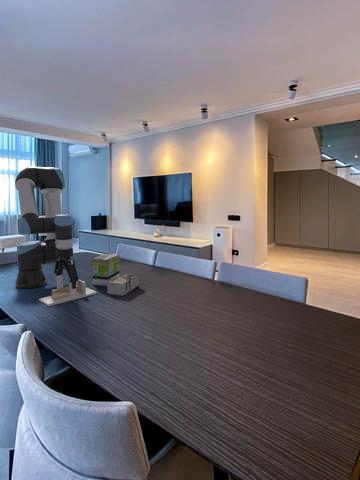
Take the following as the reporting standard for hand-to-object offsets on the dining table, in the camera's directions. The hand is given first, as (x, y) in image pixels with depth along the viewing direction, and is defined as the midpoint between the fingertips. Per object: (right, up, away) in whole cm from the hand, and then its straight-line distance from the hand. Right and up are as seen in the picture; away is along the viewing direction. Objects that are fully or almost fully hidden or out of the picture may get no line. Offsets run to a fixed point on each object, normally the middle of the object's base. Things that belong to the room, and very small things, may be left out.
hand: (66, 291), depth 144 cm
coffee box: (+22, +1, +3) cm, 22 cm away
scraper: (0, -2, 0) cm, 2 cm away
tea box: (+13, +1, +27) cm, 30 cm away
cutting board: (+1, -3, +1) cm, 3 cm away
